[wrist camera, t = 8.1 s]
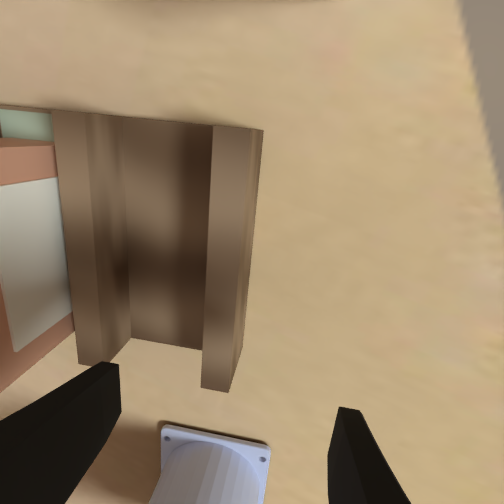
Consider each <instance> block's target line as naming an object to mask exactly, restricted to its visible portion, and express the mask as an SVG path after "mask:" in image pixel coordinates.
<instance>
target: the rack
mask: <svg viewBox="0 0 504 504" xmlns="http://www.w3.org/2000/svg"><path fill="white" fill-rule="evenodd" d="M263 132H264V131H263V130H256V129H247V128H237V127H227V126H216V125H213V126H212V125H202V124H192V123H181V122H171V121H161V120H151V119H140V118H130V117H120V116H111V115H101V114H92V113H83V112H72V111H62V110H52V109H51V110H48V109H38V108H27V107H17V106H7V105H0V138H20V139H30V140H40V141H50V142H55V151H56V160H57V170H58V179H59V188H60V197H61V206H62V216H63V225H64V234H65V243H66V252H67V262H68V271H69V280H70V289H71V298H72V308H73V317H74V326H75V335H76V344H77V354H78V363H79V364H82V365H87V366H94V365H96V364H98V363H99V362H101V361H104V362H110V361H111V360H112V359H113V358H114V357H115V356H116V354H117V353H118V352H119V351H120V350H121V349H122V348H123V346H124V345H125V344H126V343H127V342H128V341H129V340H130V338H136V339H141V340H147V341H152V342H158V343H164V344H169V345H175V346H180V347H186V348H191V349H197V350H202V371H201V388H205V389H210V390H216V391H221V392H226V393H229V389H230V386H231V383H232V380H233V376H234V373H235V370H236V367H237V363H238V360H239V357H240V354H241V350H242V347H243V336H244V326H245V316H246V306H247V296H248V285H249V275H250V265H251V255H252V244H253V234H254V224H255V214H256V203H257V193H258V183H259V173H260V163H261V152H262V142H263Z"/></svg>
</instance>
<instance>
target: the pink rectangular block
mask: <svg viewBox="0 0 504 504" xmlns="http://www.w3.org/2000/svg"><path fill="white" fill-rule="evenodd" d="M74 331H75V326H74V317H73V308H72V298H71V289H70V280H69V271H68V262H67V252H66V243H65V234H64V225H63V216H62V206H61V197H60V188H59V179H58V170H57V160H56V151H55V142H50V141H40V140H30V139H20V138H0V393H1V392H2V391H3V390H4V389H5V388H7V387H8V386H9V385H10V384H11V383H13V382H14V381H15V380H16V379H17V378H19V377H20V376H21V375H22V374H23V373H25V372H26V371H27V370H28V369H29V368H31V367H32V366H33V365H34V364H35V363H37V362H38V361H39V360H40V359H41V358H43V357H44V356H45V355H46V354H47V353H49V352H50V351H51V350H52V349H53V348H55V347H56V346H57V345H58V344H59V343H61V342H62V341H63V340H64V339H65V338H67V337H68V336H69V335H70V334H71V333H73V332H74Z"/></svg>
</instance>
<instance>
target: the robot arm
mask: <svg viewBox="0 0 504 504" xmlns="http://www.w3.org/2000/svg"><path fill="white" fill-rule="evenodd" d="M121 412H122V411H121V394H120V377H119V364H115V363H109V362H104V361H101V362H99V363H98V364H96V365H94V366H92V367H91V368H89V369H87V370H86V371H84V372H82V373H81V374H79V375H78V376H76V377H74V378H73V379H71V380H70V381H68V382H66V383H65V384H63V385H61V386H60V387H58V388H56V389H55V390H53V391H51V392H50V393H48V394H46V395H45V396H43V397H41V398H40V399H38V400H36V401H35V402H33V403H31V404H29V405H28V406H26V407H24V408H22V409H20V410H19V411H17V412H15V413H13V414H11V415H10V416H8V417H6V418H4V419H3V420H1V421H0V504H65V503H66V501H67V500H68V498H69V497H70V495H71V494H72V492H73V491H74V489H75V488H76V486H77V485H78V483H79V482H80V480H81V479H82V477H83V476H84V474H85V473H86V471H87V470H88V469H89V467H90V466H91V464H92V463H93V461H94V460H95V458H96V457H97V455H98V454H99V452H100V450H101V449H102V447H103V446H104V444H105V443H106V441H107V439H108V437H109V435H110V433H111V432H112V430H113V428H114V426H115V424H116V422H117V420H118V418H119V416H120V414H121ZM270 454H271V449H270V448H269V447H268V446H267V445H264V444H259V443H255V442H250V441H245V440H240V439H236V438H231V437H226V436H221V435H217V434H212V433H207V432H202V431H198V430H193V429H188V428H183V427H179V426H174V425H168V424H166V425H164V426H163V428H162V430H161V475H160V478H159V480H158V482H157V485H156V487H155V489H154V492H153V494H152V496H151V499H150V501H149V503H148V504H263V500H264V494H265V487H266V480H267V474H268V467H269V461H270ZM328 498H329V504H411V502H410V501H409V499H408V498H407V496H406V494H405V493H404V491H403V489H402V488H401V486H400V484H399V482H398V481H397V479H396V477H395V475H394V474H393V472H392V470H391V469H390V467H389V465H388V463H387V461H386V460H385V458H384V456H383V454H382V452H381V450H380V449H379V447H378V445H377V443H376V441H375V439H374V437H373V435H372V433H371V431H370V429H369V427H368V425H367V423H366V421H365V419H364V417H363V415H362V413H361V412H360V410H355V409H350V408H345V407H339V409H338V413H337V417H336V421H335V426H334V430H333V434H332V438H331V443H330V447H329V451H328Z"/></svg>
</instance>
